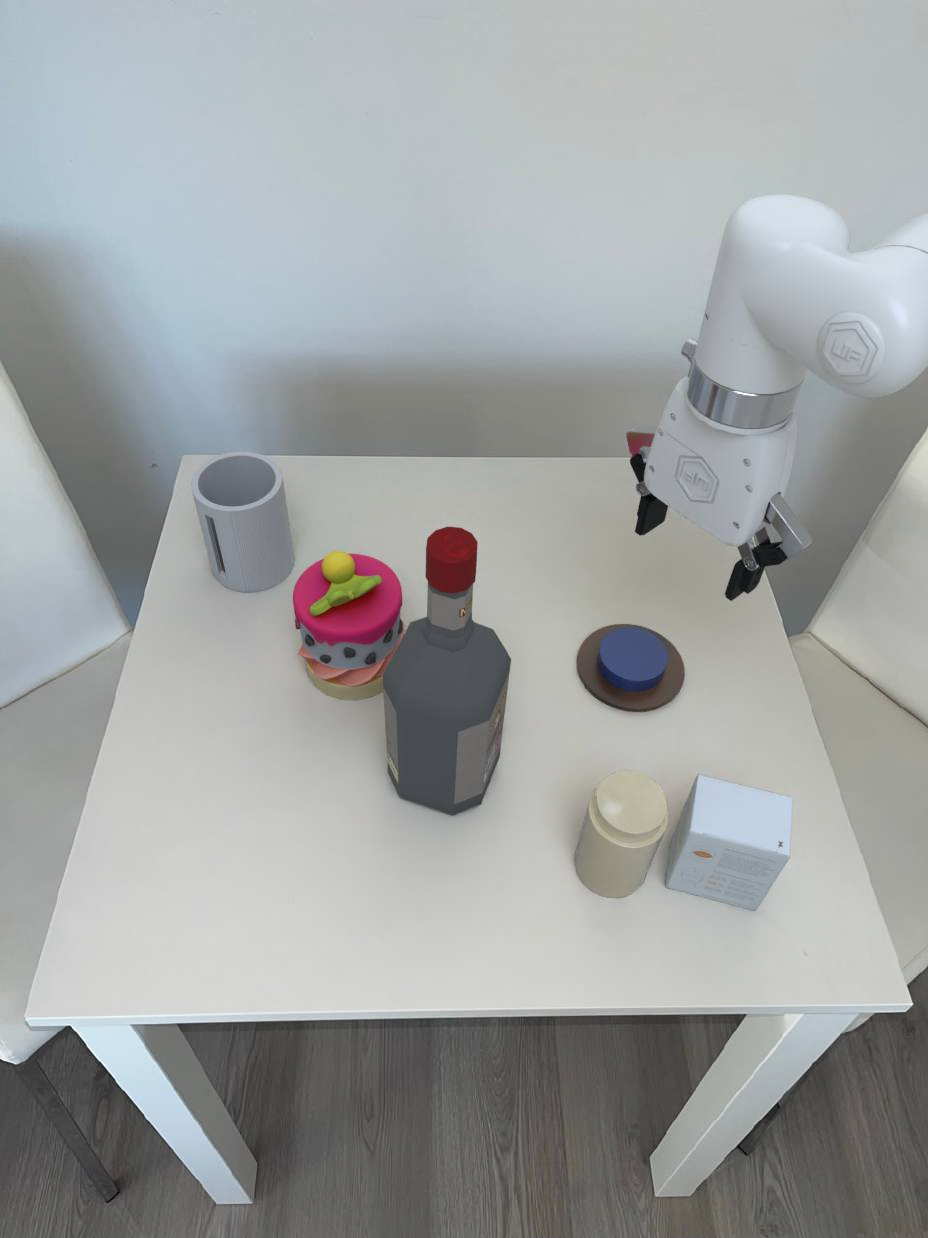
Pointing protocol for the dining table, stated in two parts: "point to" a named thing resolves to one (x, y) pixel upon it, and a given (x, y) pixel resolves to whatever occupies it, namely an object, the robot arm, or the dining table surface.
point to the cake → (348, 623)
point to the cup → (244, 520)
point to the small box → (730, 842)
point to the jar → (620, 834)
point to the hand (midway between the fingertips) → (692, 558)
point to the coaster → (624, 698)
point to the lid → (632, 659)
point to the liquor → (446, 688)
